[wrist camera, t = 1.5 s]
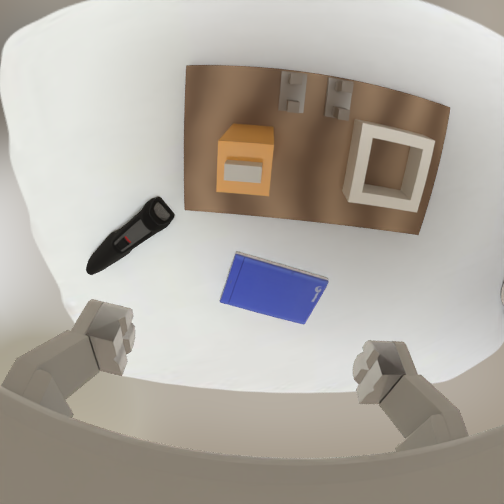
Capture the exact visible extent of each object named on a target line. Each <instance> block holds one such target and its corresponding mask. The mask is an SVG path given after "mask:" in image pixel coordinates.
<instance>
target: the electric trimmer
mask: <svg viewBox="0 0 504 504" xmlns="http://www.w3.org/2000/svg"><path fill="white" fill-rule="evenodd" d="M173 218H174V213H173V212H172V211H171V209H170V208H169V207H168V206H167V205H166V203H165V202H164V201H163V200H162V198H160V197H157V198H153V199H151V200H150V201H148V202H147V203H146V204H145V205H144V207H143V208H142V210H141V211H140V212H139V213H138V214H137V215H136V216H135V217H134V218H133V219H131V220H130V221H129V222H128V223H127V224H126V225H125V226H124V227H122V228H121V229H120V230H119V231H117V232H113V233H111V234H110V235H109V236H108V237H107V238H106V239H105V241H104V242H103V243H102V244H101V245H100V246H99V247H98V249H97V250H96V251H95V252H94V253H93V255H92V256H91V257H90V259H89V260H88V264H87V267H86V271H87V273H88V274H90V275H93V274H95V273H98V272H100V271H102V270H104V269H105V268H107V267H108V266H110V265H112V264H113V263H115V262H116V261H118V260H120V259H121V258H123V257H124V256H126V255H127V254H129V253H130V251H131V250H132V249H133V248H135V247H136V246H138V245H139V244H141V243H142V242H144V241H145V240H147V239H148V238H150V237H151V236H153V235H154V234H156V233H157V232H159V231H161V230H163V229H164V228H166V227H167V226H168V225H169V224H170V222H171V221H172V220H173Z"/></svg>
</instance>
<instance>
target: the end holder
mask: <svg viewBox="0 0 504 504" xmlns="http://www.w3.org/2000/svg"><path fill="white" fill-rule="evenodd" d="M373 138H376V139H381V140H386V141H390V142H395V143H399V144H403V145H407V146H411V147H410V151H409V156H408V161H407V165H406V169H405V174H404V178H403V182H402V186H401V190H397V189H391V188H386V187H380V186H374V185H368V184H364V181H365V176H366V171H367V166H368V161H369V155H370V150H371V145H372V139H373ZM434 144H435V141H434V140H432V139H430V138H428V137H426V136H424V135H422V134H418V133H414V132H410V131H407V130H403V129H399V128H395V127H390V126H386V125H382V124H377V123H372V122H368V121H363V120H358V119H355V120H354V127H353V133H352V139H351V145H350V151H349V157H348V163H347V168H346V174H345V179H344V184H343V190H342V192H343V194H344V195H345V197H346V199H347V201H348V202H352V203H359V204H366V205H373V206H379V207H386V208H392V209H399V210H405V211H411V212H416V213H417V211H418V207H419V204H420V200H421V197H422V193H423V190H424V186H425V182H426V178H427V174H428V170H429V166H430V162H431V158H432V153H433V149H434Z"/></svg>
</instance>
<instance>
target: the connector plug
mask: <svg viewBox="0 0 504 504" xmlns="http://www.w3.org/2000/svg"><path fill="white" fill-rule="evenodd" d="M273 151H274V127H270V126H259V125H247V124H232V125H231V127H230V128H229V129H228V130H227V131H226V132H225V133H224V135H223V136H222V137H221V138H220V139H219V140H218V156H217V185H216V192H225V193H238V194H249V195H260V196H269V190H270V181H271V171H272V161H273Z"/></svg>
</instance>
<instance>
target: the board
mask: <svg viewBox="0 0 504 504" xmlns="http://www.w3.org/2000/svg"><path fill="white" fill-rule="evenodd" d="M449 113H450V107H447V106H444V105H441V104H438V103H435V102H432V101H429V100H426V99H423V98H420V97H417V96H413V95H410V94H407V93H403V92H400V91H396V90H392V89H388V88H385V87H381V86H377V85H372V84H368V83H364V82H359V81H354V80H349V79H344V78H339V77H333V76H328V75H321V74H315V73H308V72H301V71H293V70H284V69H274V68H262V67H247V66H222V65H189V66H186V85H185V115H184V204H185V210H191V211H204V212H217V213H229V214H240V215H251V216H262V217H272V218H282V219H292V220H302V221H311V222H320V223H329V224H338V225H346V226H355V227H363V228H371V229H378V230H386V231H394V232H401V233H408V234H415V235H419V232H420V229H421V226H422V222H423V219H424V216H425V213H426V210H427V206H428V203H429V200H430V196H431V193H432V189H433V185H434V182H435V178H436V174H437V170H438V166H439V162H440V158H441V153H442V149H443V144H444V140H445V135H446V130H447V124H448V119H449ZM355 119H358V120H363V121H368V122H372V123H377V124H382V125H386V126H390V127H395V128H399V129H403V130H407V131H410V132H414V133H418V134H422V135H424V136H426V137H428V138H430V139H432V140H434V141H435V144H434V149H433V153H432V158H431V162H430V166H429V170H428V174H427V178H426V182H425V186H424V190H423V193H422V197H421V200H420V204H419V207H418V211H417V213H416V212H411V211H405V210H399V209H392V208H386V207H379V206H373V205H366V204H359V203H352V202H348V201H347V199H346V197H345V195H344V194H343V192H342V190H343V184H344V179H345V174H346V168H347V163H348V157H349V151H350V145H351V139H352V133H353V127H354V120H355ZM232 124H247V125H259V126H270V127H274V151H273V161H272V171H271V181H270V190H269V196H260V195H249V194H238V193H225V192H216V185H217V156H218V140H219V139H220V138H221V137H222V136H223V135H224V133H225V132H226V131H227V130H228V129H229V128H230V127H231V125H232ZM410 147H411V146H407V145H403V144H399V143H395V142H390V141H386V140H381V139H376V138H373V139H372V145H371V150H370V155H369V161H368V166H367V171H366V176H365V181H364V184H368V185H374V186H380V187H386V188H391V189H397V190H401V186H402V182H403V178H404V174H405V169H406V165H407V161H408V156H409V151H410Z"/></svg>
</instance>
